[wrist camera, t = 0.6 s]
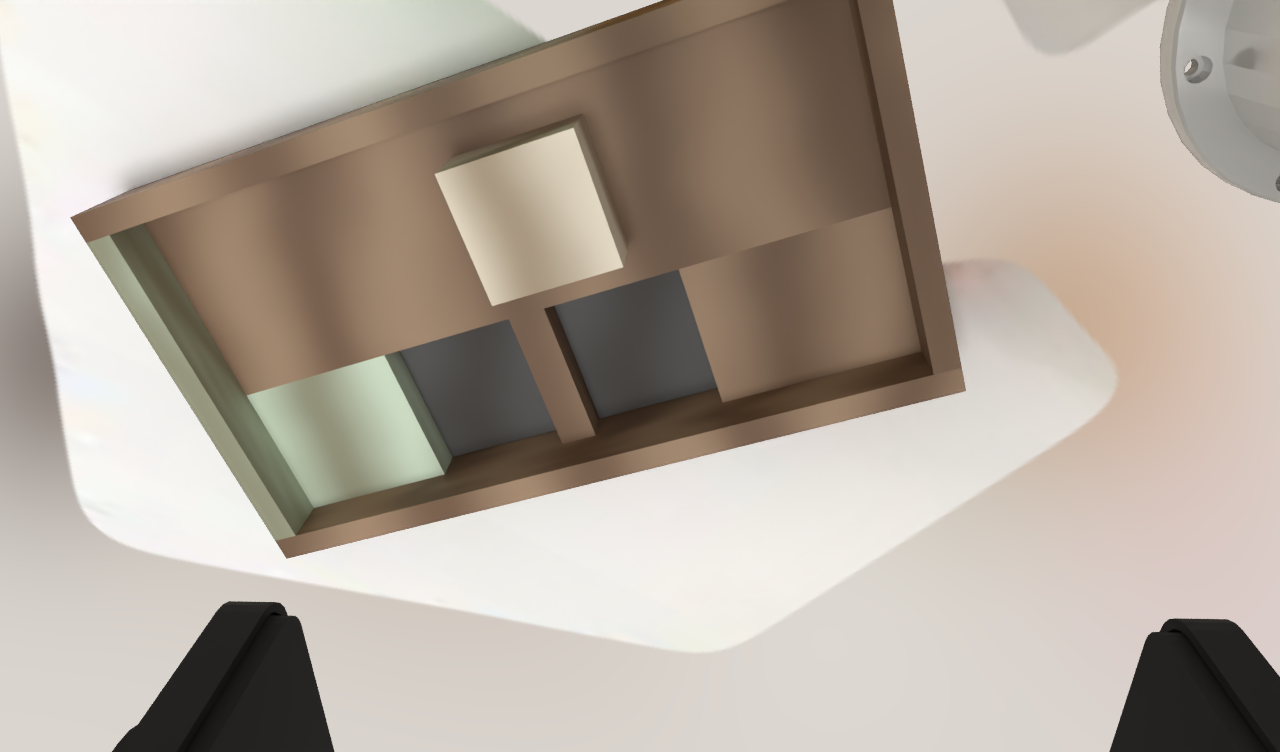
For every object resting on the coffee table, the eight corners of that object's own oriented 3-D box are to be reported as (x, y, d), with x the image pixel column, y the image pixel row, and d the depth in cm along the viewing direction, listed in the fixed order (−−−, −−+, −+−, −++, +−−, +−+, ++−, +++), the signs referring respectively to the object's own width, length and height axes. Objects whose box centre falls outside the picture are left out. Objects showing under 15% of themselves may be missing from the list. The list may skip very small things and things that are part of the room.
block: (582, 113, 30) (573, 127, 28) (628, 244, 32) (623, 267, 30) (453, 156, 31) (434, 174, 29) (505, 281, 33) (491, 306, 31)
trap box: (859, -70, 29) (879, -70, 26) (942, 350, 35) (966, 390, 32) (127, 191, 34) (70, 217, 31) (317, 510, 41) (286, 558, 38)
